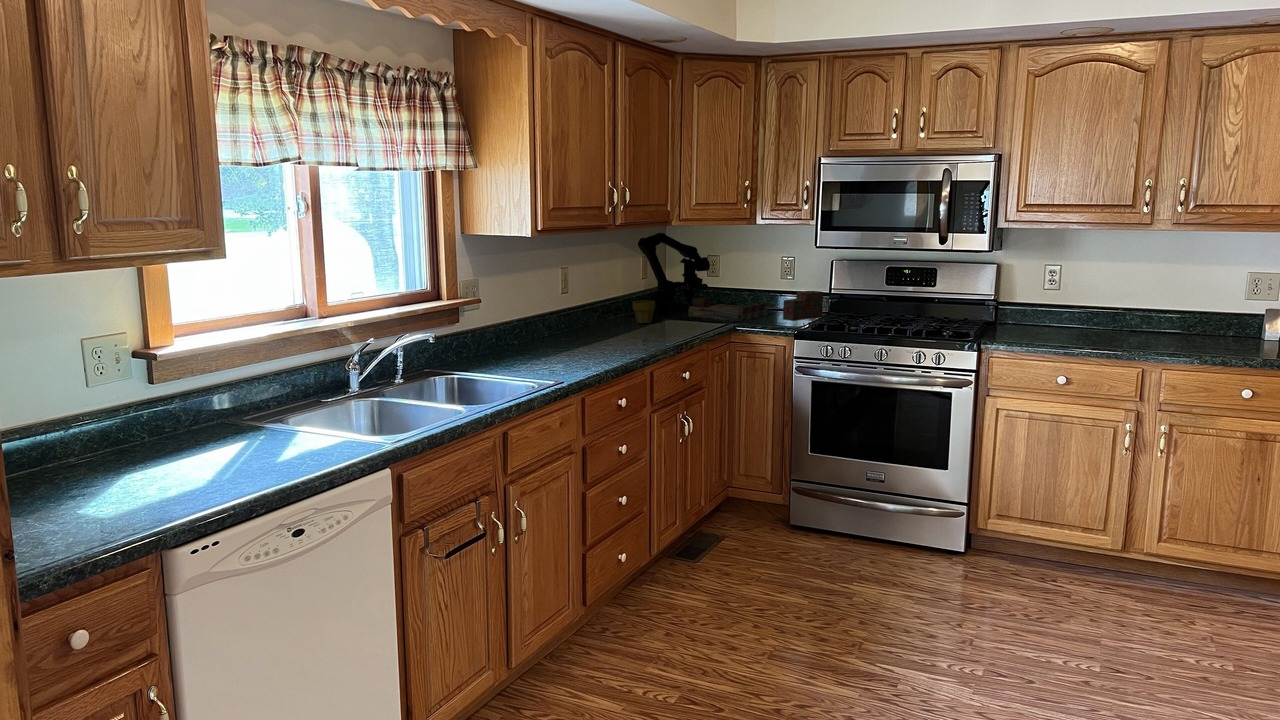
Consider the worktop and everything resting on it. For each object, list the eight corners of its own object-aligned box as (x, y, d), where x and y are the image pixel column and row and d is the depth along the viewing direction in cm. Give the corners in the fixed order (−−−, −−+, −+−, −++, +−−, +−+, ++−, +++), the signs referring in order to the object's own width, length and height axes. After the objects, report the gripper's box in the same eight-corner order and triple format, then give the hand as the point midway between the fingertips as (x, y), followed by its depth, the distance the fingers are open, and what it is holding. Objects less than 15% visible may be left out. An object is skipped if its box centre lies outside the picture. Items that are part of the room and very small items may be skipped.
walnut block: (703, 307, 444) (703, 299, 443) (693, 306, 448) (693, 298, 447) (710, 306, 449) (710, 298, 448) (700, 305, 453) (700, 297, 452)
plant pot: (629, 322, 419) (629, 300, 417) (650, 320, 423) (650, 299, 421) (637, 325, 410) (637, 303, 408) (658, 324, 413) (658, 302, 411)
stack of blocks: (792, 321, 422) (793, 294, 420) (782, 319, 427) (783, 293, 425) (822, 316, 436) (823, 291, 433) (812, 315, 440) (813, 290, 438)
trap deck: (737, 321, 420) (737, 308, 418) (676, 314, 441) (676, 302, 440) (769, 315, 441) (769, 302, 440) (709, 308, 463) (710, 297, 462)
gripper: (714, 271, 450) (714, 303, 453) (684, 269, 462) (683, 300, 465) (701, 273, 442) (701, 305, 445) (670, 271, 453) (670, 302, 456)
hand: (689, 303), depth 453 cm, fingers closed
